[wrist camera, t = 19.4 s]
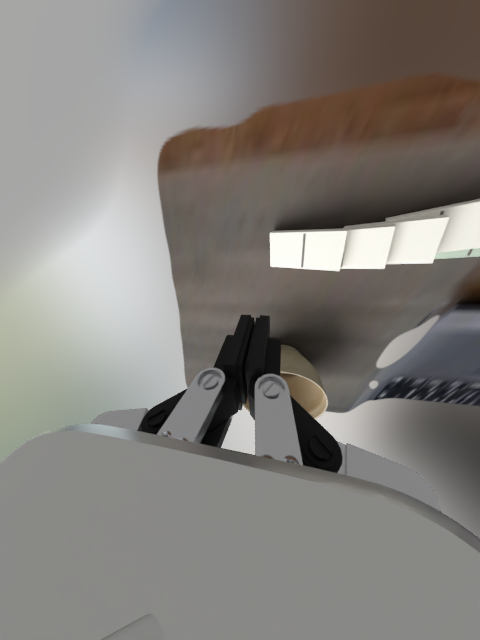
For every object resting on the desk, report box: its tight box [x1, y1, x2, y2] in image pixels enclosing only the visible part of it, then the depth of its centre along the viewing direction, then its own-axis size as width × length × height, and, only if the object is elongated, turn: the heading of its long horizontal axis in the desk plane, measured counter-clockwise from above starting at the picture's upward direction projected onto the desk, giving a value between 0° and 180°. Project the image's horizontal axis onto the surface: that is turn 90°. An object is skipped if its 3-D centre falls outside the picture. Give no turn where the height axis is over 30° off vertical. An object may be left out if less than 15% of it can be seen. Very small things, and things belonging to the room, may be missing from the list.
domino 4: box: [385, 199, 480, 253], centre depth 22 cm, size 2×5×10 cm
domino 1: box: [270, 228, 349, 271], centre depth 26 cm, size 2×5×10 cm
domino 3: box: [344, 215, 449, 264], centre depth 24 cm, size 2×5×10 cm
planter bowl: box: [243, 345, 328, 419], centre depth 38 cm, size 16×16×11 cm
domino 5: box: [434, 248, 480, 259], centre depth 23 cm, size 2×5×10 cm
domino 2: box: [340, 224, 396, 269], centre depth 25 cm, size 2×5×10 cm
